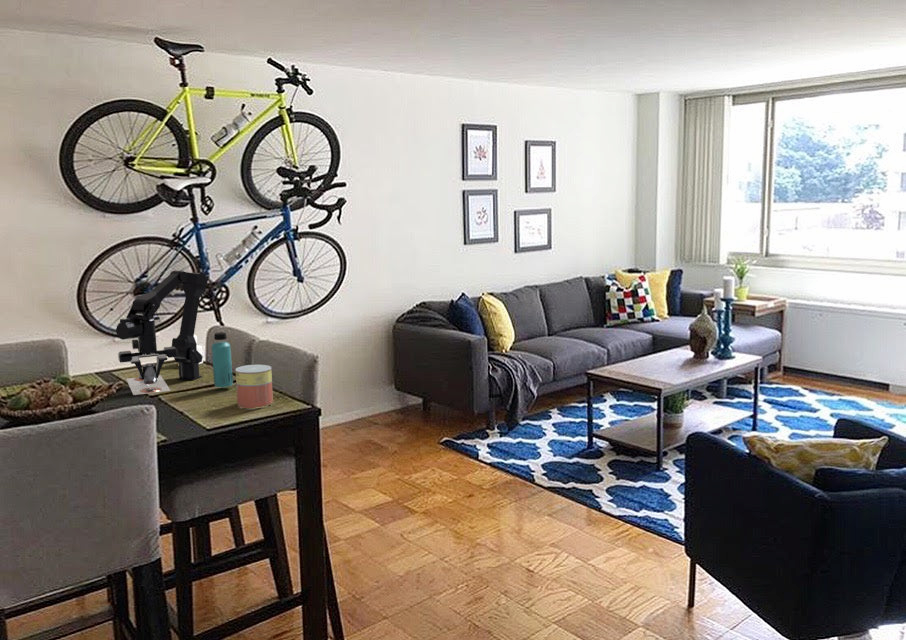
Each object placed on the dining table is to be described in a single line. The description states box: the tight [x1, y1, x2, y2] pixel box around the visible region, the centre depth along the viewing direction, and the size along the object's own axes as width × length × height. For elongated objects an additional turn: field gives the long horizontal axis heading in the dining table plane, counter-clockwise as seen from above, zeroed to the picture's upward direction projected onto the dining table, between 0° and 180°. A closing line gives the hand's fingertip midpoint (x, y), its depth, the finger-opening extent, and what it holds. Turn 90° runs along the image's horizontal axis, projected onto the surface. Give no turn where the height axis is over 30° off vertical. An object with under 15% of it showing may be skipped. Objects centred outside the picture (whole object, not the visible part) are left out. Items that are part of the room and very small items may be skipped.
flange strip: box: [125, 373, 171, 396], centre depth 274 cm, size 26×12×2 cm, turn 28°
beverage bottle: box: [211, 332, 234, 388], centre depth 265 cm, size 6×7×20 cm
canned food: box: [235, 363, 274, 409], centre depth 246 cm, size 11×11×12 cm
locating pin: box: [141, 362, 157, 384], centre depth 265 cm, size 4×4×7 cm
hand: (150, 378), depth 265 cm, fingers closed on locating pin, 4 cm apart
